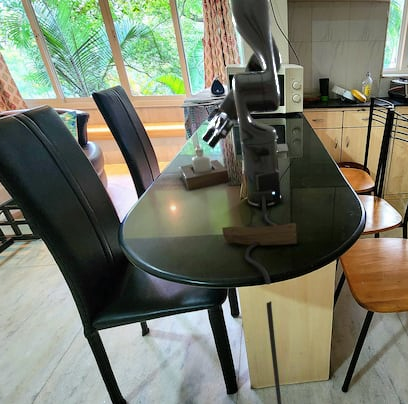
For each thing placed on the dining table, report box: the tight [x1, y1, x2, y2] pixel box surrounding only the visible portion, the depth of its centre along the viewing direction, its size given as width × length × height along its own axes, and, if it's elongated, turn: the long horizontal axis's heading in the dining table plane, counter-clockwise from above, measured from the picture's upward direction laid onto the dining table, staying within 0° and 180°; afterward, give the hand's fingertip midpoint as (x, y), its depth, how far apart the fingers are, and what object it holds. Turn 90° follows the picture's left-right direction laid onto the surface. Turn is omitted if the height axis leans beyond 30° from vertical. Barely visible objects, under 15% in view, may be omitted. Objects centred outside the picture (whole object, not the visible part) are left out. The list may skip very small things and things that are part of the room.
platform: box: [276, 135, 290, 153], centre depth 126 cm, size 12×18×7 cm, turn 96°
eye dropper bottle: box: [191, 144, 212, 173], centre depth 94 cm, size 4×6×12 cm
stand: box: [179, 159, 230, 191], centre depth 96 cm, size 13×13×4 cm
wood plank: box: [221, 222, 298, 246], centre depth 60 cm, size 15×2×5 cm, turn 90°
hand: (207, 143), depth 93 cm, fingers open, 8 cm apart
